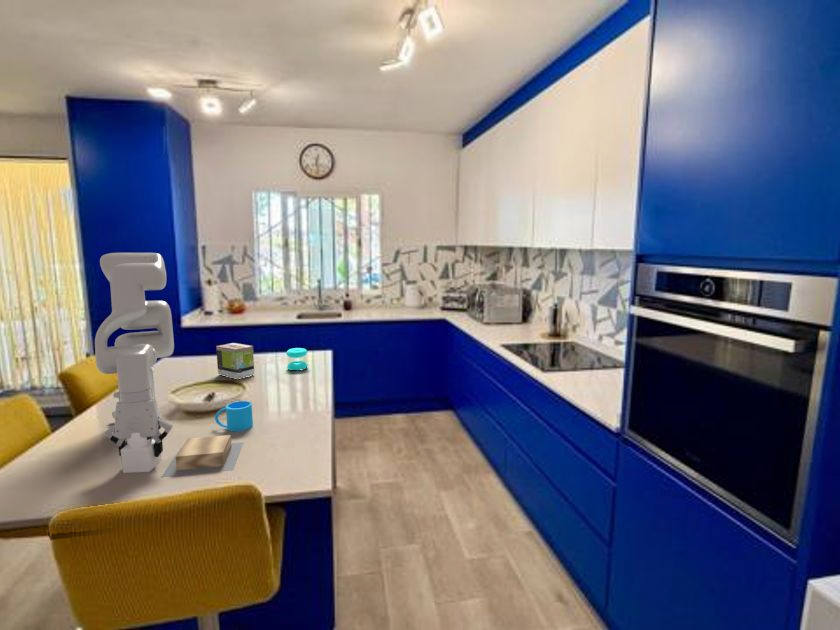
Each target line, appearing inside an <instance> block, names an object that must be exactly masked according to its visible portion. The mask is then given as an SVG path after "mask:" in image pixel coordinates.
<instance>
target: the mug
mask: <svg viewBox="0 0 840 630" xmlns="http://www.w3.org/2000/svg"><path fill="white" fill-rule="evenodd" d="M224 411H225V414H226V415H225V416H226V424H224V423H222V422H221V421H220V420H219V415H220V413H222V412H224ZM214 416H215V417H214V419H215V423H216V424H217V425H218V426H219V427H221V428H226V430H228V431H230V432H242V431H245V430H249V429H251V428H254V420H253V419H254V418H253V405H252V402H251V401H249V400H248V401H247V400H237V401H234V402H230V403H228V404H226V406H225V407H223V408H221V409H219V410H218V411H216V413H215V415H214Z"/></svg>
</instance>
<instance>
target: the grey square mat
mask: <svg viewBox="0 0 840 630" xmlns="http://www.w3.org/2000/svg"><path fill="white" fill-rule="evenodd" d="M231 445H232V448H231V450H230V452H229V455H228V457H227V460H226V462H225V464H224V466H217V467H207V468H197V469H187V470H177V466H176V455H177V454H178V452H179V451H180V449H181V448H182V447H180V448H179V450H178V451H177V452H176V454H175V456H174V457H173V458H172V460H171V462H170V463H169V464H168V466H167V467H166V469H165V471H164V472H163V474H162V475H161V478H166V477H178V476H187V475H189V476H190V475H198V474H208V473H215V472H216V473H217V472H224V471H225V472H227V471H234V470H235V468H236V465H237V461H238V460H239V456H240V453H241V451H242V448H243V445H244V442H234V443H233V442H231Z"/></svg>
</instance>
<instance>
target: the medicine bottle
mask: <svg viewBox="0 0 840 630" xmlns="http://www.w3.org/2000/svg"><path fill="white" fill-rule="evenodd" d="M126 442H127V443H128V445H126V446H125V447H124V448H122V449H121V456H120V460H121V467H122V468H121V469H122V470H121V471H122V473H123V474H126V473H148V472H151V471H152V470H153V469H154V468H156V466H158V464H159V463H161V461H162V460H163V458H162V453H161V454H160V455H159V456H158V457H155V451H154V443H155V440H154V439H153V438H152V437H144V438H143V437H140V433H132V434H131V438H130V439H126Z"/></svg>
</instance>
